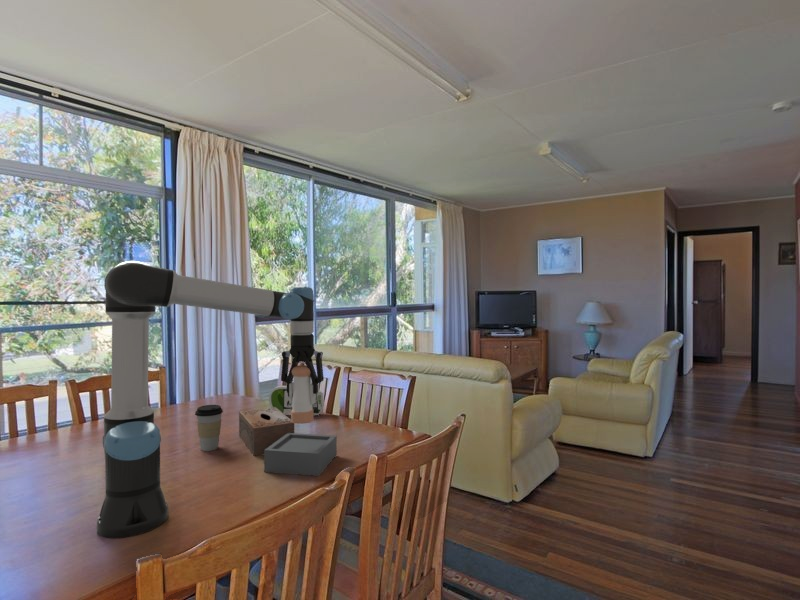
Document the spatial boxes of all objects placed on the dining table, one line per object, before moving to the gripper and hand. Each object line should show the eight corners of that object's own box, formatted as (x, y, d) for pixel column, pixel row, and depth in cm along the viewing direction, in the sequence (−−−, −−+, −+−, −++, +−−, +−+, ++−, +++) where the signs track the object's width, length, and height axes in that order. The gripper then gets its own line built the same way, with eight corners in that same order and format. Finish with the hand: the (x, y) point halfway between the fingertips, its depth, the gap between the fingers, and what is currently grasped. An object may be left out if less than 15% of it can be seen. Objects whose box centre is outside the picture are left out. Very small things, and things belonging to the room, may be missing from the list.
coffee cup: (213, 453, 159) (212, 411, 159) (189, 451, 161) (189, 409, 161) (228, 444, 169) (228, 404, 168) (205, 443, 170) (205, 403, 170)
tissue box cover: (294, 449, 164) (294, 422, 164) (253, 457, 157) (253, 428, 157) (275, 431, 187) (275, 407, 187) (239, 436, 179) (239, 411, 179)
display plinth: (318, 476, 140) (318, 453, 140) (264, 472, 143) (264, 450, 143) (336, 455, 158) (336, 435, 158) (287, 452, 161) (287, 432, 161)
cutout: (325, 385, 213) (271, 381, 210) (325, 386, 210) (270, 382, 208) (323, 417, 213) (268, 414, 211) (322, 418, 210) (267, 415, 208)
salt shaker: (318, 419, 152) (318, 362, 151) (303, 425, 145) (302, 365, 145) (301, 416, 155) (301, 360, 155) (286, 421, 149) (286, 363, 149)
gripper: (334, 333, 152) (334, 401, 152) (279, 332, 155) (279, 399, 156) (326, 335, 144) (326, 407, 145) (269, 334, 148) (269, 404, 148)
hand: (302, 402), depth 150 cm, fingers closed on salt shaker, 7 cm apart
